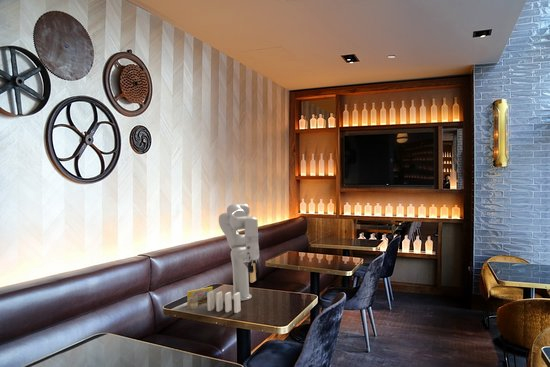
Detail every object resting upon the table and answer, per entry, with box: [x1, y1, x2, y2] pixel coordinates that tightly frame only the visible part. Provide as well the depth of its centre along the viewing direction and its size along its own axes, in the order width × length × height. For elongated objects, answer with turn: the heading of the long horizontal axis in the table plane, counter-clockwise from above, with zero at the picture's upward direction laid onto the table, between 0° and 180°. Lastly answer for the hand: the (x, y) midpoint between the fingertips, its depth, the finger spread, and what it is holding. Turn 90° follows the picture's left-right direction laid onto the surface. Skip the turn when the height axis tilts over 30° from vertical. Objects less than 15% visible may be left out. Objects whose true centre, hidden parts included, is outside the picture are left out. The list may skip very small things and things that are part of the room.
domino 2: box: [215, 290, 224, 313], centre depth 223 cm, size 2×5×10 cm, turn 161°
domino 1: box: [206, 290, 215, 312], centre depth 225 cm, size 2×5×10 cm, turn 161°
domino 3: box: [224, 291, 233, 313], centre depth 221 cm, size 2×5×10 cm, turn 161°
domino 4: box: [233, 292, 242, 314], centre depth 219 cm, size 2×5×10 cm, turn 161°
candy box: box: [186, 286, 214, 306], centre depth 239 cm, size 16×2×8 cm, turn 126°
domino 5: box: [249, 263, 257, 284], centre depth 224 cm, size 2×5×10 cm, turn 161°
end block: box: [187, 296, 199, 311], centre depth 228 cm, size 3×6×6 cm, turn 161°
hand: (252, 270), depth 224 cm, fingers closed on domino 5, 4 cm apart
